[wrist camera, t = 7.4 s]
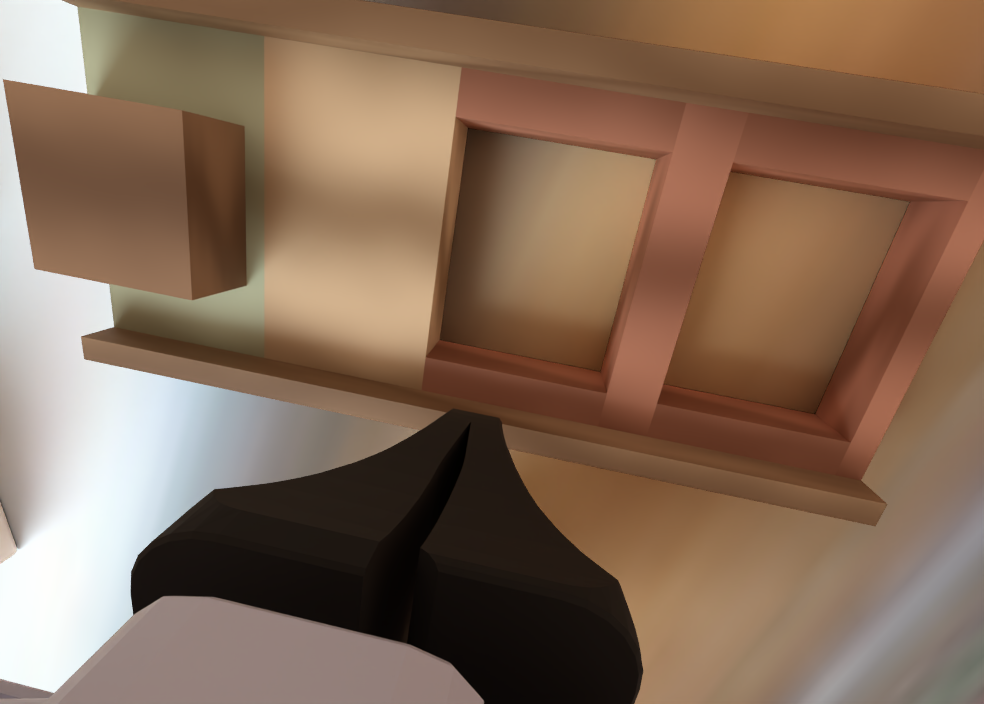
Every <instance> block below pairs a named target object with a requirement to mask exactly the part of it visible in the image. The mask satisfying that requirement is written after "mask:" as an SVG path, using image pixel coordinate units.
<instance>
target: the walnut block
mask: <svg viewBox="0 0 984 704" xmlns="http://www.w3.org/2000/svg"><path fill="white" fill-rule="evenodd" d="M3 82H4V88H5V94H6V100H7V106H8V112H9V118H10V124H11V130H12V136H13V142H14V148H15V154H16V160H17V166H18V172H19V178H20V184H21V190H22V196H23V202H24V208H25V214H26V220H27V226H28V232H29V238H30V244H31V250H32V256H33V262H34V268H35V269H38V270H43V271H48V272H53V273H58V274H63V275H68V276H73V277H78V278H83V279H88V280H93V281H98V282H103V283H108V284H113V285H118V286H123V287H128V288H133V289H138V290H143V291H147V292H152V293H157V294H162V295H167V296H172V297H177V298H182V299H187V300H196V299H199V298H203V297H207V296H210V295H214V294H218V293H222V292H225V291H229V290H233V289H236V288H240V287H244V286H247V275H246V196H245V126H242V125H238V124H234V123H230V122H226V121H222V120H218V119H214V118H211V117H207V116H203V115H199V114H195V113H191V112H187V111H183V110H178V109H172V108H166V107H160V106H154V105H149V104H143V103H137V102H131V101H125V100H120V99H114V98H108V97H102V96H96V95H91V94H85V93H79V92H73V91H67V90H62V89H56V88H50V87H44V86H38V85H33V84H27V83H21V82H15V81H9V80H4V79H3Z"/></svg>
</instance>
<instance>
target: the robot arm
mask: <svg viewBox="0 0 984 704" xmlns="http://www.w3.org/2000/svg"><path fill="white" fill-rule="evenodd" d="M131 599H132V607H133V616H132V617H131V618H130V619H129V620H128V621H127V622H126V623H125V624H124V625H123V626H122V627H121V628H120V629H119V630H118V631H117V632H116V633H115V634H114V635H113V636H112V637H111V638H110V639H109V640H108V641H107V642H106V643H105V644H104V645H103V646H102V647H101V648H100V649H99V650H98V651H97V652H96V653H95V654H94V655H93V656H92V657H91V658H90V659H88V660H87V661H86V662H85V663H84V664H83V665H82V666H81V667H80V668H79V669H78V670H77V671H76V672H75V673H74V674H73V675H72V676H71V677H70V678H69V679H68V680H67V681H66V682H65V683H64V684H63V685H62V686H61V687H60V688H59V689H58V690H57V691H56V692H55V693H51V692H48V691H44V690H40V689H36V688H32V687H29V686H25V685H21V684H17V683H13V682H10V681H6V680H2V679H0V704H634V703H635V700H636V698H637V695H638V692H639V690H640V685H641V680H642V675H643V666H642V661H641V653H640V647H639V642H638V638H637V634H636V630H635V626H634V623H633V620H632V617H631V614H630V611H629V608H628V606H627V603H626V600H625V597H624V594H623V592H622V589H621V586H620V584H619V582H618V580H617V579H615V578H614V577H613V576H612V575H610V574H609V573H608V572H606V571H605V570H604V569H602V568H601V567H600V566H599V565H597V564H596V563H595V562H593V561H592V560H591V559H589V558H588V557H587V556H586V555H584V554H583V553H582V552H581V551H580V550H579V549H578V548H577V547H575V546H574V545H573V544H572V543H571V542H570V541H569V540H568V539H567V538H566V537H565V536H564V535H563V534H562V533H561V532H560V531H559V530H558V529H557V528H556V527H555V526H554V525H553V524H552V522H551V521H550V520H549V519H548V518H547V517H546V515H545V514H544V513H543V512H542V511H541V510H540V508H539V507H538V506H537V504H536V503H535V501H534V500H533V498H532V497H531V495H530V494H529V492H528V490H527V489H526V487H525V485H524V483H523V481H522V480H521V478H520V476H519V474H518V472H517V470H516V467H515V465H514V463H513V461H512V458H511V455H510V453H509V450H508V447H507V444H506V441H505V438H504V434H503V428H502V421H501V420H500V418H498V417H493V416H488V415H483V414H478V413H474V412H469V411H464V410H459V409H454V408H453V409H451V410H450V411H448V412H447V413H445V414H444V415H442V416H441V417H439V418H438V419H437V420H435V421H434V422H432V423H431V424H429V425H428V426H426V427H425V428H423V429H422V430H420V431H419V432H417V433H415V434H414V435H412V436H411V437H409V438H407V439H405V440H403V441H401V442H400V443H398V444H396V445H394V446H392V447H390V448H388V449H386V450H384V451H382V452H380V453H378V454H375V455H373V456H370V457H368V458H365V459H363V460H360V461H357V462H355V463H352V464H348V465H345V466H342V467H338V468H335V469H332V470H329V471H325V472H322V473H318V474H314V475H310V476H305V477H301V478H296V479H290V480H285V481H280V482H274V483H267V484H259V485H250V486H242V487H233V488H224V489H214V490H213V491H212V492H210V493H209V494H208V495H207V496H205V497H204V498H203V499H202V500H200V501H199V502H198V503H197V504H196V505H194V506H193V507H192V508H191V509H190V510H188V511H187V512H186V513H185V514H184V515H183V516H181V517H180V518H179V519H178V520H177V521H175V522H174V523H173V524H172V525H171V526H170V527H168V528H167V529H166V530H165V531H164V532H163V533H161V534H160V535H159V536H158V537H157V538H156V539H154V540H153V541H152V542H151V543H150V544H149V545H148V546H147V547H146V548H145V549H144V550H143V551H142V552H141V553H140V554H139V555H138V557H137V559H136V562H135V564H134V566H133V569H132V571H131Z"/></svg>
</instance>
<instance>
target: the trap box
mask: <svg viewBox="0 0 984 704" xmlns="http://www.w3.org/2000/svg"><path fill="white" fill-rule="evenodd" d="M63 1H65V2H68V3H70V4H72V5H75V6H77V7H78V15H79V23H80V32H81V41H82V49H83V58H84V67H85V76H86V84H87V93H88V94H91V95H96V96H102V97H108V98H114V99H120V100H125V101H131V102H137V103H143V104H149V105H154V106H160V107H166V108H172V109H178V110H183V111H187V112H191V113H195V114H199V115H203V116H207V117H211V118H214V119H218V120H222V121H226V122H230V123H234V124H238V125H242V126H245V196H246V275H247V286H244V287H240V288H236V289H233V290H229V291H225V292H222V293H218V294H214V295H210V296H207V297H203V298H199V299H196V300H187V299H182V298H177V297H172V296H167V295H162V294H157V293H152V292H147V291H143V290H138V289H133V288H128V287H123V286H118V285H113V284H109V285H110V293H111V302H112V311H113V320H114V327H113V328H110V329H106V330H103V331H99V332H96V333H92V334H88V335H85V336H81V339H82V346H83V353H84V359H86V360H91V361H96V362H100V363H105V364H110V365H115V366H119V367H124V368H129V369H133V370H138V371H143V372H148V373H152V374H157V375H162V376H167V377H171V378H176V379H181V380H186V381H190V382H195V383H200V384H204V385H209V386H214V387H219V388H223V389H228V390H233V391H238V392H242V393H247V394H252V395H257V396H261V397H266V398H271V399H275V400H280V401H285V402H290V403H294V404H299V405H304V406H309V407H313V408H318V409H323V410H328V411H332V412H337V413H342V414H347V415H351V416H356V417H361V418H365V419H370V420H375V421H380V422H384V423H389V424H394V425H399V426H403V427H408V428H413V429H418V430H422V429H423V428H425V427H426V426H428V425H429V424H431V423H432V422H434V421H435V420H437V419H438V418H439V417H441V416H442V415H444V414H445V413H447V412H448V411H450V410H451V409H453V408H454V409H459V410H464V411H469V412H474V413H478V414H483V415H488V416H493V417H498V418H500V420H501V421H502V428H503V434H504V438H505V441H506V444H507V447H508V449H512V450H517V451H522V452H526V453H531V454H536V455H541V456H545V457H550V458H555V459H560V460H564V461H569V462H574V463H578V464H583V465H588V466H593V467H597V468H602V469H607V470H612V471H616V472H621V473H626V474H631V475H635V476H640V477H645V478H649V479H654V480H659V481H664V482H668V483H673V484H678V485H683V486H687V487H692V488H697V489H702V490H706V491H711V492H716V493H720V494H725V495H730V496H735V497H739V498H744V499H749V500H754V501H758V502H763V503H768V504H773V505H777V506H782V507H787V508H791V509H796V510H801V511H806V512H810V513H815V514H820V515H825V516H829V517H834V518H839V519H844V520H848V521H853V522H858V523H862V524H867V525H872V526H876V524H877V522H878V520H879V519H880V517H881V515H882V513H883V511H884V509H885V508H886V506H887V503H885V502H884V501H883V500H882V499H881V498H880V497H879V496H878V495H877V494H875V493H874V492H873V491H872V490H871V489H870V488H869V487H868V486H866V485H865V484H864V483H863V482H862V481H861V479H862V477H863V475H864V473H865V471H866V470H867V468H868V466H869V464H870V462H871V460H872V458H873V456H874V454H875V452H876V450H877V448H878V446H879V444H880V442H881V440H882V438H883V436H884V434H885V432H886V430H887V428H888V427H889V425H890V423H891V421H892V419H893V417H894V415H895V413H896V411H897V409H898V407H899V405H900V403H901V401H902V399H903V397H904V395H905V393H906V391H907V389H908V387H909V385H910V384H911V382H912V380H913V378H914V376H915V374H916V372H917V370H918V368H919V366H920V364H921V362H922V360H923V358H924V356H925V354H926V352H927V350H928V348H929V346H930V344H931V342H932V341H933V339H934V337H935V335H936V333H937V331H938V329H939V327H940V325H941V323H942V321H943V319H944V317H945V315H946V313H947V311H948V309H949V307H950V305H951V303H952V301H953V299H954V298H955V296H956V294H957V292H958V290H959V288H960V286H961V284H962V282H963V280H964V278H965V276H966V274H967V272H968V270H969V268H970V266H971V264H972V262H973V260H974V258H975V256H976V255H977V253H978V251H979V249H980V247H981V245H982V243H983V241H984V94H981V93H974V92H967V91H961V90H954V89H947V88H941V87H934V86H928V85H921V84H914V83H908V82H901V81H894V80H888V79H881V78H874V77H868V76H861V75H854V74H848V73H841V72H834V71H828V70H821V69H815V68H808V67H801V66H795V65H788V64H781V63H775V62H768V61H761V60H755V59H748V58H741V57H735V56H728V55H721V54H715V53H708V52H701V51H695V50H688V49H682V48H675V47H668V46H662V45H655V44H648V43H642V42H635V41H628V40H622V39H615V38H608V37H602V36H595V35H588V34H582V33H575V32H569V31H562V30H555V29H549V28H542V27H535V26H529V25H522V24H515V23H509V22H502V21H495V20H489V19H482V18H475V17H469V16H462V15H455V14H449V13H442V12H436V11H429V10H422V9H416V8H409V7H402V6H396V5H389V4H382V3H376V2H369V1H362V0H63ZM468 128H472V129H478V130H484V131H490V132H496V133H502V134H508V135H514V136H520V137H526V138H532V139H538V140H544V141H550V142H556V143H562V144H568V145H574V146H580V147H586V148H592V149H598V150H604V151H610V152H616V153H622V154H628V155H634V156H640V157H646V158H652V159H656V163H655V167H654V170H653V174H652V178H651V182H650V186H649V189H648V193H647V197H646V201H645V205H644V208H643V212H642V216H641V220H640V224H639V227H638V231H637V235H636V239H635V243H634V246H633V250H632V254H631V258H630V262H629V265H628V269H627V273H626V277H625V281H624V284H623V288H622V292H621V296H620V300H619V303H618V307H617V311H616V315H615V319H614V322H613V326H612V330H611V334H610V338H609V341H608V345H607V349H606V353H605V357H604V360H603V364H602V368H601V372H599V371H594V370H589V369H584V368H578V367H573V366H568V365H563V364H558V363H553V362H548V361H543V360H538V359H533V358H528V357H523V356H518V355H513V354H508V353H503V352H498V351H492V350H487V349H482V348H477V347H472V346H467V345H462V344H457V343H452V342H447V341H442V340H440V333H441V326H442V318H443V311H444V304H445V296H446V289H447V281H448V274H449V266H450V259H451V251H452V244H453V236H454V229H455V221H456V214H457V206H458V199H459V191H460V184H461V176H462V169H463V161H464V154H465V146H466V139H467V131H468ZM730 172H736V173H742V174H748V175H754V176H760V177H766V178H772V179H778V180H784V181H790V182H796V183H802V184H808V185H814V186H820V187H826V188H832V189H838V190H844V191H850V192H856V193H862V194H868V195H874V196H880V197H886V198H892V199H898V200H904V201H910V204H909V206H908V208H907V210H906V213H905V215H904V217H903V219H902V221H901V224H900V226H899V228H898V230H897V233H896V235H895V237H894V239H893V242H892V244H891V246H890V248H889V251H888V253H887V255H886V257H885V260H884V262H883V264H882V266H881V268H880V271H879V273H878V275H877V277H876V280H875V282H874V284H873V286H872V289H871V291H870V293H869V295H868V298H867V300H866V302H865V304H864V306H863V309H862V311H861V313H860V315H859V318H858V320H857V322H856V324H855V327H854V329H853V331H852V333H851V336H850V338H849V340H848V342H847V345H846V347H845V349H844V351H843V353H842V356H841V358H840V360H839V362H838V365H837V367H836V369H835V371H834V374H833V376H832V378H831V380H830V383H829V385H828V387H827V389H826V392H825V394H824V396H823V398H822V400H821V403H820V405H819V407H818V409H817V412H816V414H811V413H806V412H801V411H796V410H791V409H786V408H781V407H776V406H771V405H766V404H761V403H756V402H750V401H745V400H740V399H735V398H730V397H725V396H720V395H715V394H710V393H705V392H700V391H695V390H690V389H685V388H680V387H675V386H670V385H664V384H663V383H664V380H665V377H666V374H667V370H668V367H669V364H670V361H671V358H672V355H673V351H674V348H675V345H676V342H677V339H678V335H679V332H680V329H681V326H682V323H683V320H684V316H685V313H686V310H687V307H688V304H689V301H690V297H691V294H692V291H693V288H694V285H695V282H696V278H697V275H698V272H699V269H700V266H701V263H702V259H703V256H704V253H705V250H706V247H707V244H708V240H709V237H710V234H711V231H712V228H713V225H714V221H715V218H716V215H717V212H718V209H719V206H720V202H721V199H722V196H723V193H724V190H725V187H726V183H727V180H728V177H729V174H730Z"/></svg>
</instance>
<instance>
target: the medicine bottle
mask: <svg viewBox="0 0 984 704" xmlns="http://www.w3.org/2000/svg"><path fill="white" fill-rule="evenodd" d="M16 551H17V547H16V544H15V541H14V539H13V536H12V533H11V530H10V527H9V525H8V522H7V519H6V516H5V514H4V511H3V508H2V505H1V502H0V564H1V563H2V562H4V561H5V560H7V559H8V558H10V557H11V556H13V555H14V554H15V553H16Z"/></svg>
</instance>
